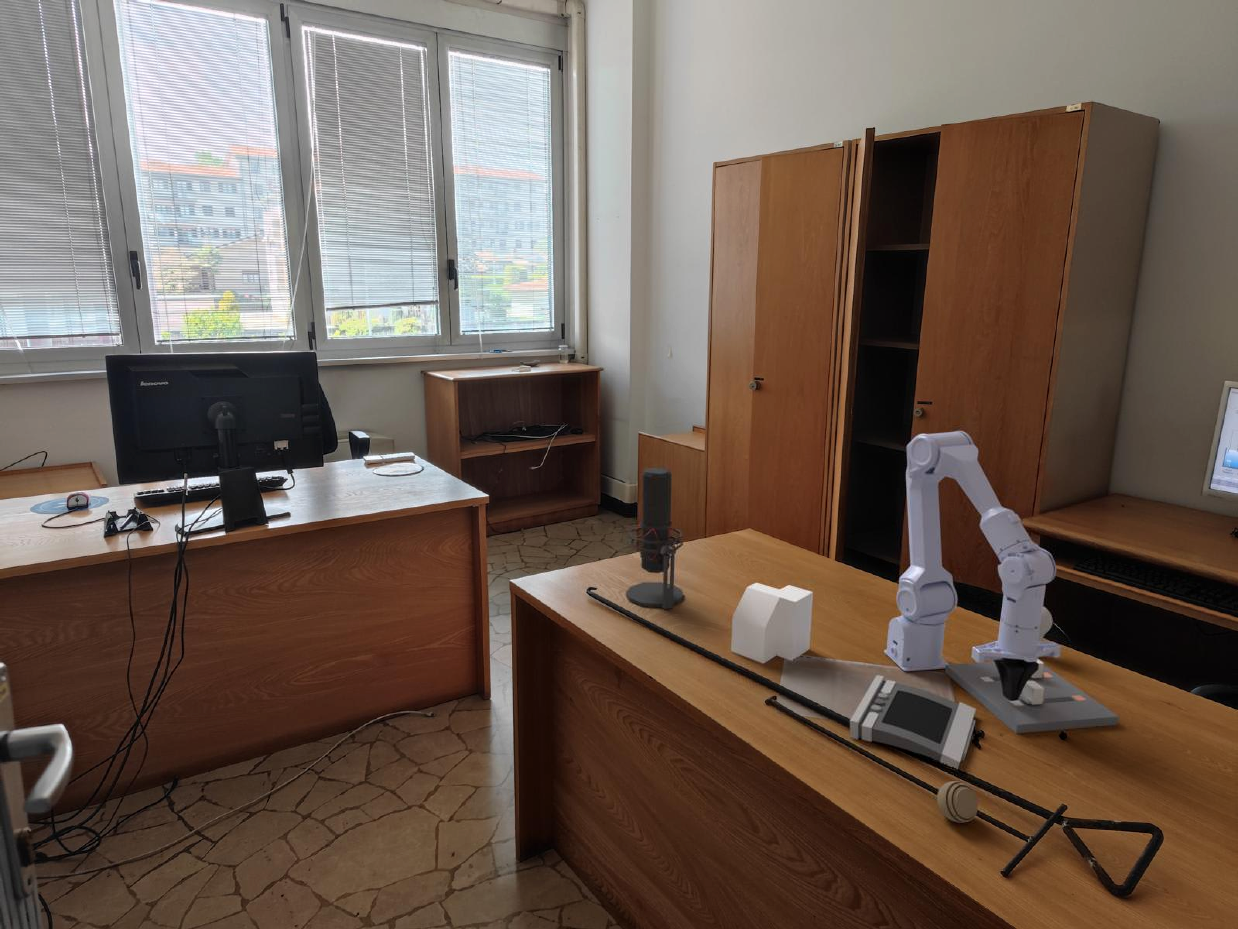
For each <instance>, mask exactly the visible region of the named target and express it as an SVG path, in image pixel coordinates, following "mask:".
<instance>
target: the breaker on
mask: <svg viewBox="0 0 1238 929" xmlns="http://www.w3.org/2000/svg"><path fill="white" fill-rule="evenodd" d="M1036 662H1037V663H1038V664H1039V668H1038V670H1037V671H1036V672H1035V673H1034V674H1033V675H1032V676H1031V677H1032V678H1042V677H1044V674H1043V666H1044V665H1045V663H1044V662H1043V661H1041V660H1040V659H1039V658H1038V660H1037V661H1036ZM1031 677H1030V678H1031Z"/></svg>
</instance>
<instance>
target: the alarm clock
mask: <svg viewBox="0 0 1238 929" xmlns="http://www.w3.org/2000/svg"><path fill="white" fill-rule="evenodd" d="M884 676H885V675H878V674H877V675H875V677H874V679H873V681H872V682H871V684H870V686H869V687H868V690H867V691H866V692H865V695H864V696H863V697H862V700H860V702H859V704H858V706H857V708H856V709H855V711H854V713H853V715H851V718H850V719H849V738H851V739H853V740H859V739H861V740H863V741H867V742H870V743H872V742H876V743H882V744H885V745H890V746H893V747H897V748H900V749H904V750H907V751H910V752H912V753H915V754H918V753H919V754H918V755H920V754H922V755H921V756H923V755H925V756H928V757H931V758H933V759H934V760H933V761H935V760H938V761H940V762H941V763H944V764H947V765H948V766H950V767H954V768H956V769H957V770H958V768H959V765H960V763H961V762H965V758H966V756H967V753H968V751H969V750H968V749H969V746H970V742H971V738H972V736H973V732H974V728H975V725H976V722H977V721H976V719H974V717H975V714H976V710H977V709H976V708H974V707H973V706H970V705H968V704H966V703H963V702H961V701H960V702H959V703H957V702H955V701H953V700H950V699H948V698H946V697H944V696H941V695H938V694H935V693H933V692H930V691H929V690H924V689H921V688H918V687H914V686H911V685H906V684H902V683H898V682H897V681H895V680H889V679H887V680H885V677H884ZM925 756H924V757H925ZM928 757H927V758H928Z"/></svg>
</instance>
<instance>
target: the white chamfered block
mask: <svg viewBox="0 0 1238 929" xmlns="http://www.w3.org/2000/svg"><path fill="white" fill-rule="evenodd" d="M813 598H814V592H813V591H811V590H806V589H804V588H800V587H797V586H794V585H790V584H788V585H785V587H782V588H780V589H779V588H775V587H773V586H768V585H766V584H762V583H759V582H755V583H752V584H750V585H749V586H747V587H746V588H745V591H744V593H743V595H742V597H741V599H740V601H739V603H738V605H737V607H736V609H735V611H734V612H733V614H732V619H731V620H732V624H731V625H732V626H731V644H730V645H731V646H730V647H731V648H730V652H733V653H735V654H737V655H740V656H742V657H745V658H748V659H751V660H753V661H755V662H758V663H760V664H765V663H767V662H768V661H770V660H771V659H773V658H774V657H776V656H778V657H780V658H783V659H785V660H788V659H789V660H788V661H791V660H792V661H794V660H795V659H796V658H795V657H797V658H798V657H800V656H802V655H803V654H804V653H806V652H807V651H809V650H810V644H811V627H812V614H813V600H814V599H813ZM794 658H795V659H794ZM793 659H794V660H793Z"/></svg>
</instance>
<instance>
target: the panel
mask: <svg viewBox="0 0 1238 929" xmlns="http://www.w3.org/2000/svg"><path fill="white" fill-rule="evenodd" d="M944 670H945V671H944V674H946V675H947V674H948V675H947V676H949V677H950V678H951V679H952V680H953V681H954V682H956V683H957V684H958V685H959V687H961V688H962V689H964V691H965V692H967V693H968V694H970V696H972V697H973V698H974V699H976V700H977V701H978V702H979V703H980V704H981V705H982V706H983V707H984V708H985V709H987V710H988V711H989V712H990V713H992V715H993V716H995V717H996V718H997V719H999V720H1000V721H1001V722H1002V723H1003V724H1005V726H1006V727H1008V728H1009V729H1010V730H1011V731H1013V732H1014V733H1015V734H1024V733H1025V734H1026V733H1036V732H1050V731H1060V730H1072V729H1084V728H1085V729H1086V728H1095V727H1096V726H1098V727H1107V726H1117V725H1118V724H1119V723H1118V722H1119V715H1117V714H1116V713H1114V712H1113V711H1112V710H1110V709H1108V708H1107V707H1105V705H1102V704H1101V703H1100V702H1098V701H1097V700H1096V699H1095V698H1093V697H1091V695H1088V694H1087V693H1085V691H1082V690H1081V689H1080V688H1078V687H1076V686H1075V685H1073V684H1072V683H1071V682H1069V681H1068V680H1067V679H1065V678H1063V677H1062V676H1061V675H1059V674H1058V673H1056V672H1055V671H1053V670H1052V669H1050V668H1049V667H1047V666H1046V665H1045V664H1044V666H1043V674H1044V677H1042V678H1032V677H1031V678H1030V679H1029V680H1028V681H1035V682H1036V683H1037V684H1039V685H1040V686H1042V687H1043V688H1044V693H1043V699H1044V703H1042V704H1033V705H1032V704H1027V703H1026V702H1025V701H1023V700H1022V699H1021V698H1020V696H1019V698H1018V700H1017V701H1010V700H1008V699H1007V698H1006V697H1005V696H1003V691H1002V684H1001V679H1000V675H999V672H998V669H997V667H996V665H995V662H994V661H984V662H983V663H978V662H971V663H970V662H968V663H956V664H955V663H953V664H950V665H946V668H944ZM1022 691H1023V690H1022ZM1020 695H1022V692H1021V694H1020ZM1094 726H1095V727H1094ZM1096 728H1097V727H1096Z"/></svg>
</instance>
